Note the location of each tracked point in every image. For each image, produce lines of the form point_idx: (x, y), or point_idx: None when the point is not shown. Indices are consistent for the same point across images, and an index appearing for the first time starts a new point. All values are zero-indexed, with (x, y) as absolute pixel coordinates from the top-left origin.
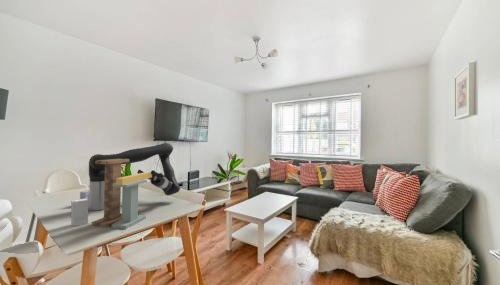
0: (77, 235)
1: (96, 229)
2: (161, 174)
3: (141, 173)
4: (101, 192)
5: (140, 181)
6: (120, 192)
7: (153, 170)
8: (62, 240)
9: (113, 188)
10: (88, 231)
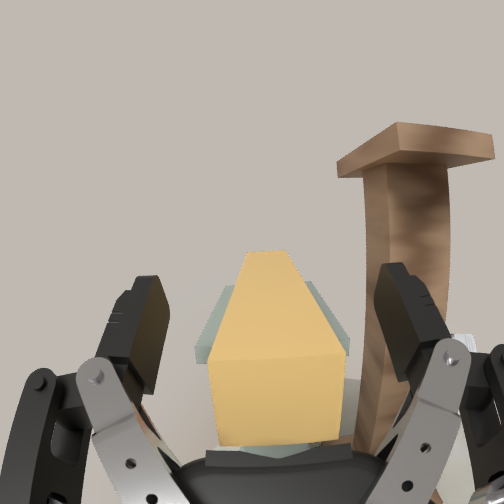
0: (349, 399)
1: (343, 428)
2: (34, 406)
3: (291, 298)
4: None
5: (211, 318)
6: (381, 388)
7: (135, 281)
8: (351, 382)
9: (365, 329)
10: (350, 416)
